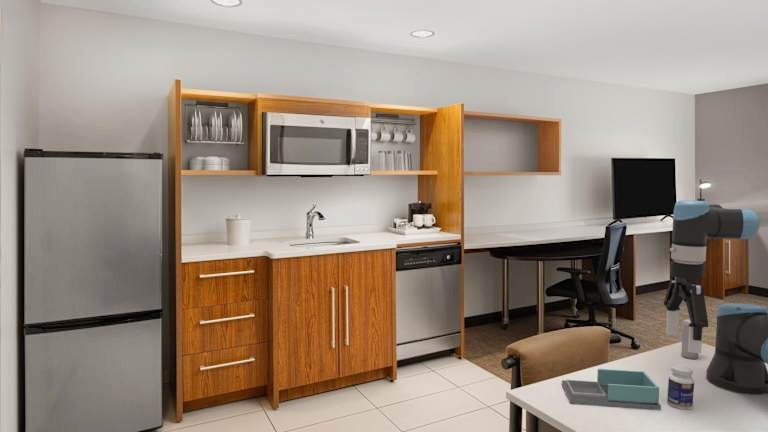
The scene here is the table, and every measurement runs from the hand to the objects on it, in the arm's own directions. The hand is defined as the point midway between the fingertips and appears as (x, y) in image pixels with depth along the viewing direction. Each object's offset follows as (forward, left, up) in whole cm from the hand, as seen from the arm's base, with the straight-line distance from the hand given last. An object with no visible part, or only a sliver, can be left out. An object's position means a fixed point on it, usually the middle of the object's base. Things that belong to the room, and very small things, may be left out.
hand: (682, 343), depth 129 cm
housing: (+12, -2, -15) cm, 20 cm away
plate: (+17, -2, -17) cm, 24 cm away
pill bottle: (0, 0, -17) cm, 17 cm away
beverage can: (-18, -37, -17) cm, 45 cm away
